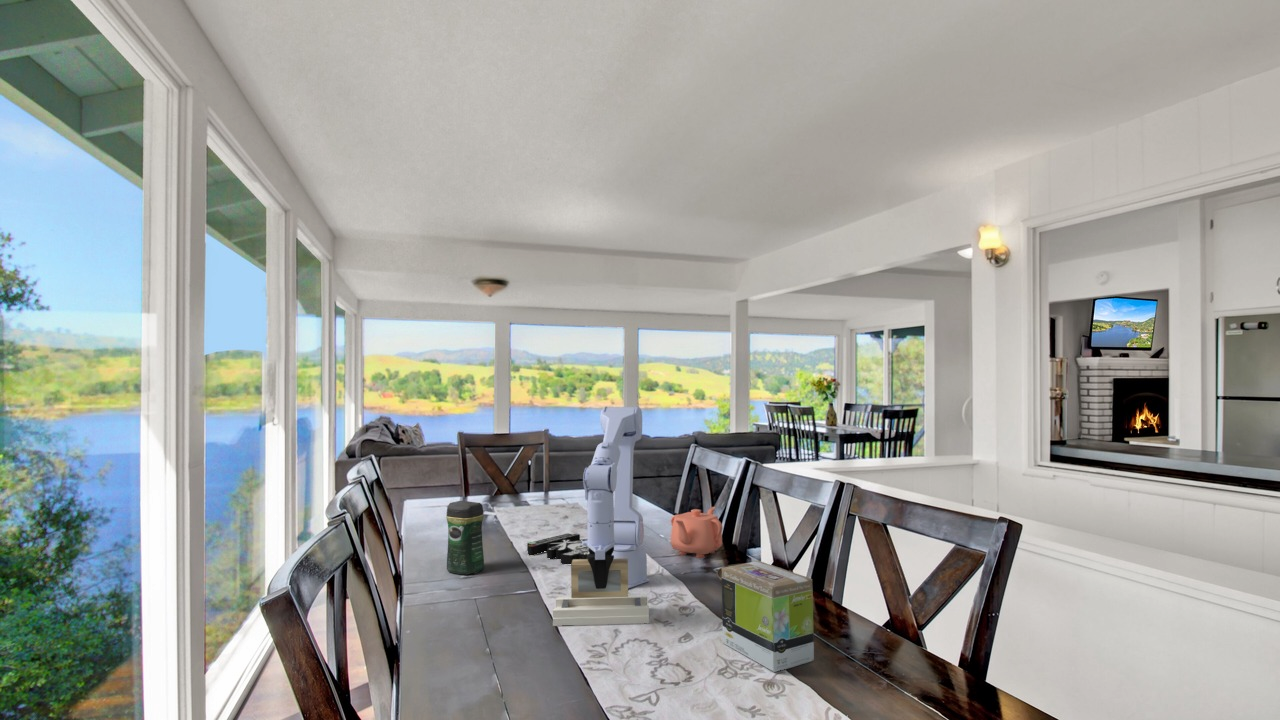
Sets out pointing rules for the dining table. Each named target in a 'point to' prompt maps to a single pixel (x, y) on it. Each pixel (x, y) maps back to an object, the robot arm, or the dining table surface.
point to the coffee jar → (465, 537)
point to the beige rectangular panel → (586, 586)
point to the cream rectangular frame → (601, 610)
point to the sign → (560, 547)
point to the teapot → (696, 533)
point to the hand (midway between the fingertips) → (601, 584)
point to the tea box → (768, 614)
